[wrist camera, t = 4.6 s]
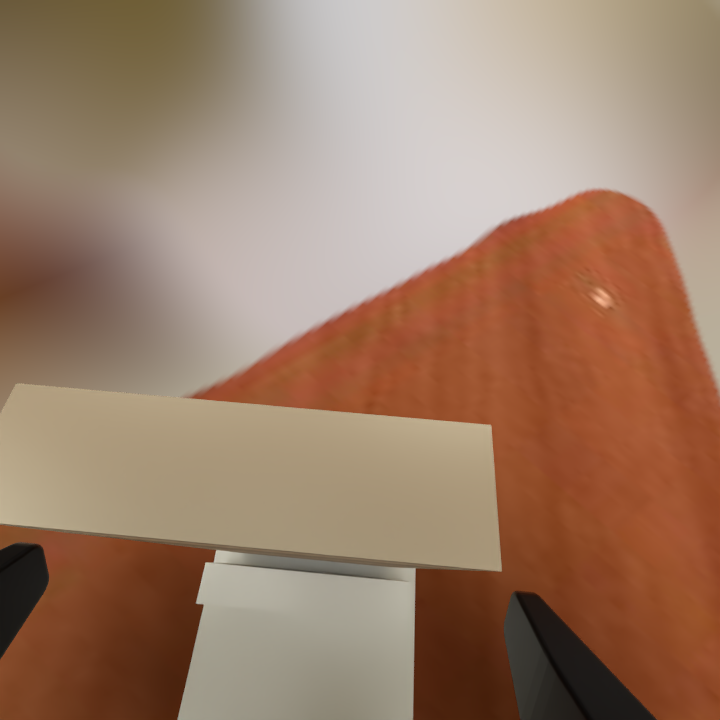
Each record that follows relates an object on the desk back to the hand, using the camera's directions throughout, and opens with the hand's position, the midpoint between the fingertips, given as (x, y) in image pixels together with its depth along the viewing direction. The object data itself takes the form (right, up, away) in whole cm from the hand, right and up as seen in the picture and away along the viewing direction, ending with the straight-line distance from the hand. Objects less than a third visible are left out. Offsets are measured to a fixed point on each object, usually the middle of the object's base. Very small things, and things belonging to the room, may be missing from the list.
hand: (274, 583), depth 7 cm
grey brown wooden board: (0, -3, +9) cm, 9 cm away
